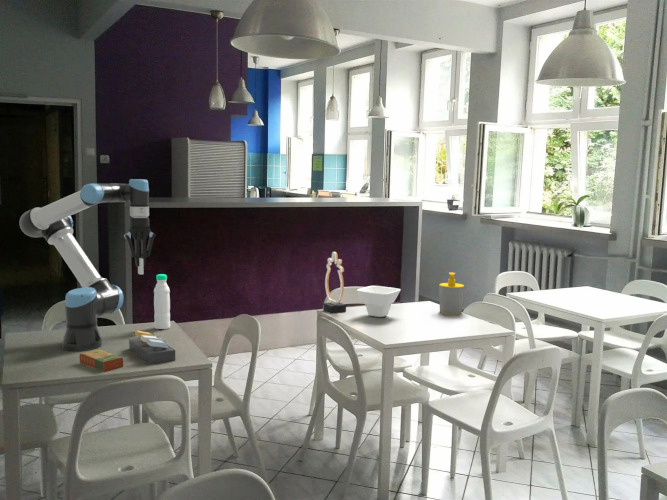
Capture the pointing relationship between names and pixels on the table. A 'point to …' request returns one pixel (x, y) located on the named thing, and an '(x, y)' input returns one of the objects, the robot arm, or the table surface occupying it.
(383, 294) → the bowl
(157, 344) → the rocker blue
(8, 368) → the table surface
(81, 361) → the carton
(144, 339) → the rocker white
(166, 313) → the water bottle
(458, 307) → the soap bottle
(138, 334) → the rocker amber
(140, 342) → the power strip
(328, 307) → the lamp
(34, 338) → the table surface
